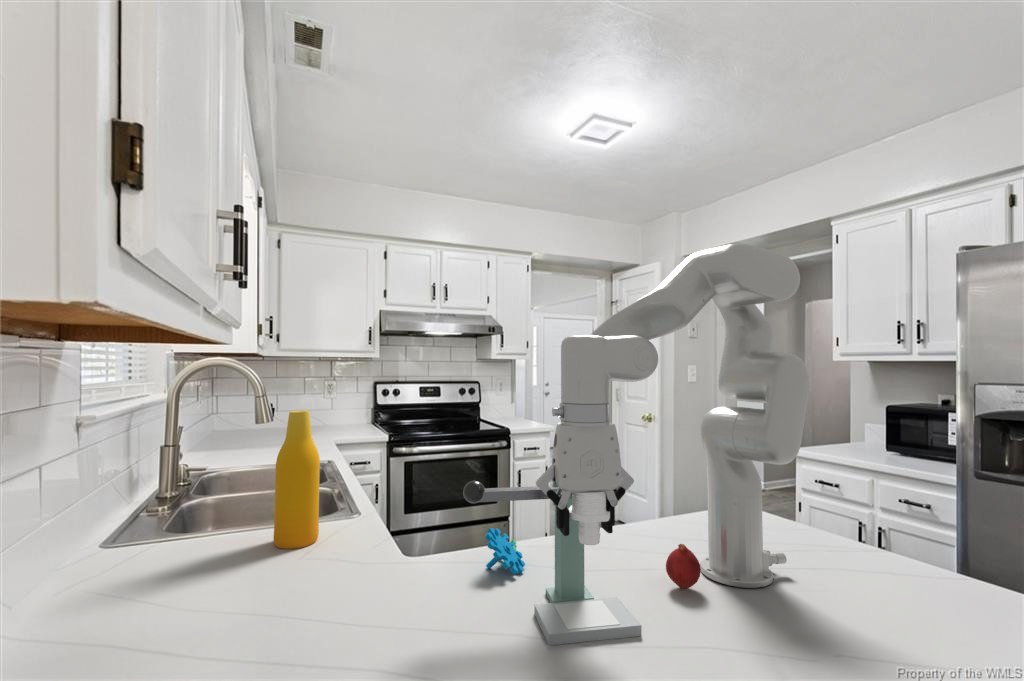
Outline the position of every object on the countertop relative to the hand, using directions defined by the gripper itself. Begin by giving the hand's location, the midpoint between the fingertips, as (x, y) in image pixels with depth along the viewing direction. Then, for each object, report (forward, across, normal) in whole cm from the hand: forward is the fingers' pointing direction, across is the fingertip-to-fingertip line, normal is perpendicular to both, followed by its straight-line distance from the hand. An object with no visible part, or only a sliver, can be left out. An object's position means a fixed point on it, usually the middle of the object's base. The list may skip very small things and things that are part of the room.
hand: (585, 530), depth 77 cm
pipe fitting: (+2, 0, 0) cm, 2 cm away
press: (+14, 0, +2) cm, 14 cm away
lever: (-3, -8, +8) cm, 12 cm away
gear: (+14, -8, +23) cm, 28 cm away
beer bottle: (+14, -52, +46) cm, 71 cm away
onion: (+14, +21, +8) cm, 27 cm away
